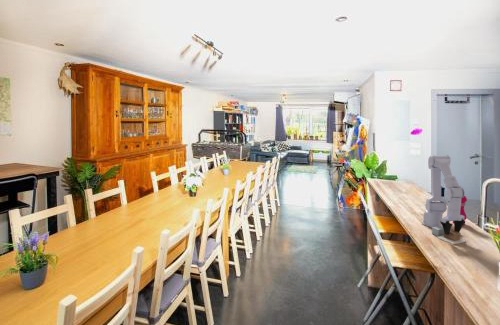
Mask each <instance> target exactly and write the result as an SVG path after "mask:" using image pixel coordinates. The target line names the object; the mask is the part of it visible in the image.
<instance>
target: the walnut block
mask: <svg viewBox="0 0 500 325" xmlns="http://www.w3.org/2000/svg"><path fill="white" fill-rule="evenodd" d="M444 237H445V238H448V239H450V240H453V241H458V240H460V238H461V232H456V231H453V230H451V229H450V234H449V235H446V234H444Z"/></svg>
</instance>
